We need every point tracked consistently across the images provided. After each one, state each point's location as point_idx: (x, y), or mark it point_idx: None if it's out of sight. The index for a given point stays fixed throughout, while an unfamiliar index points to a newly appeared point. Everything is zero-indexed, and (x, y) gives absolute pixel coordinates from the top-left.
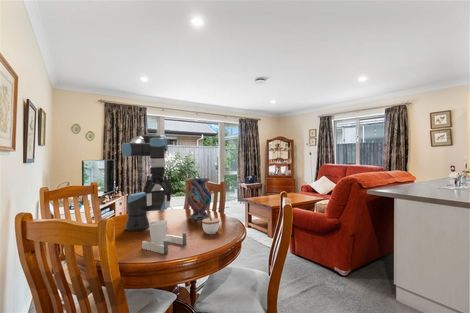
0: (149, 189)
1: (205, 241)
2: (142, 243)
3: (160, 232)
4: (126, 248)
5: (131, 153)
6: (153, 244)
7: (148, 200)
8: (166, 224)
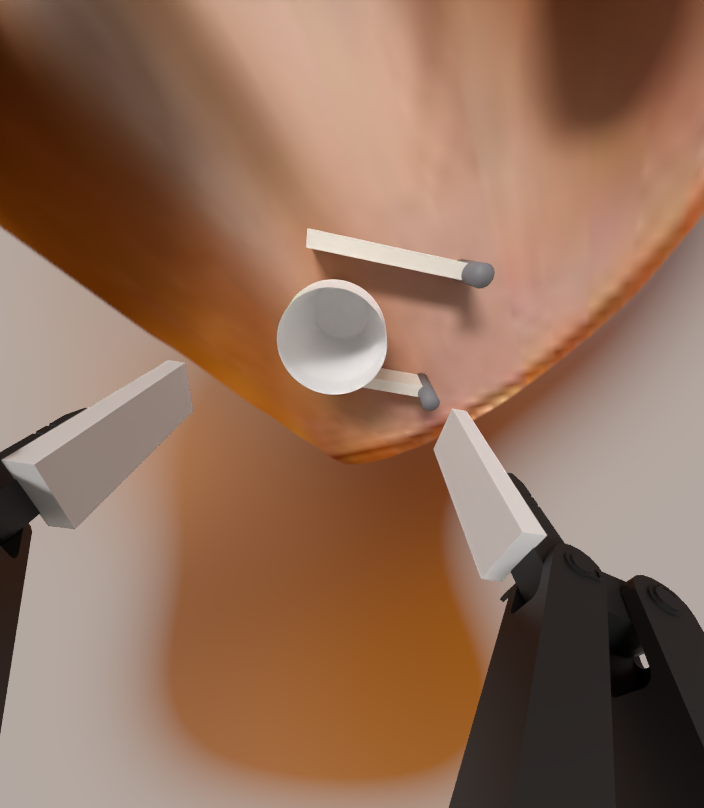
0: (5, 624)
1: (572, 179)
2: None
3: (370, 360)
4: (243, 377)
5: None
6: (364, 387)
7: (152, 437)
8: (385, 329)
